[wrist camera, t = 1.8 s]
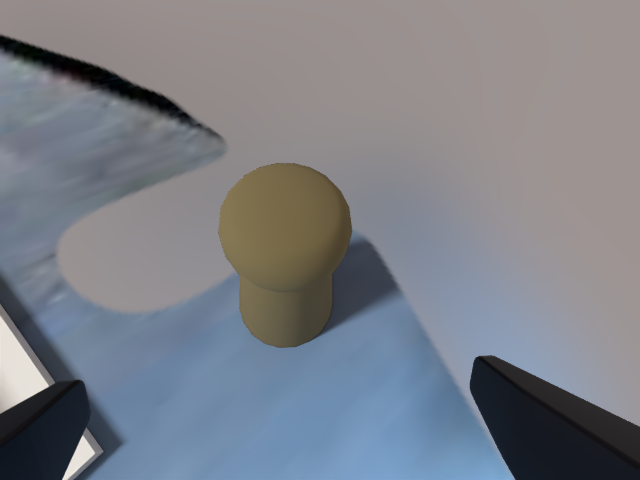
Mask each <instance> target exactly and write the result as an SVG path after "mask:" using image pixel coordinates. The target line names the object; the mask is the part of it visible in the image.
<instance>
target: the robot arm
mask: <svg viewBox="0 0 640 480" xmlns="http://www.w3.org/2000/svg"><path fill="white" fill-rule="evenodd" d="M470 391H471V394H472V396H473V398H474V400H475V402H476V404H477V406H478V409H479V411H480V412H481V415H482V417H483V419H484V421H485V423H486V425H487V427H488V429H489V431H490V433H491V435H492V437H493V439H494V441H495V443H496V446H497V448H498V449H499V451H500V453H501V455H502V457H503V459H504V461H505V463H506V464H507V466H508V468H509V470H510V471H511V473H512V475H513V476H514V478H515V480H640V427H639V426H637V425H635V424H633V423H631V422H629V421H627V420H625V419H623V418H621V417H619V416H616V415H614V414H612V413H610V412H608V411H606V410H604V409H602V408H600V407H598V406H596V405H594V404H592V403H590V402H588V401H586V400H584V399H581V398H579V397H577V396H575V395H573V394H571V393H569V392H567V391H565V390H563V389H561V388H559V387H557V386H555V385H553V384H551V383H549V382H546V381H545V380H543V379H540V378H538V377H536V376H534V375H532V374H530V373H528V372H526V371H524V370H522V369H520V368H518V367H516V366H513V365H512V364H510V363H508V362H506V361H503V360H501V359H499V358H497V357H495V356H491V355H490V356H478V357H476V358H475V360H474V363H473V369H472V374H471V380H470ZM90 413H91V411H90V405H89V401H88V396H87V392H86V388H85V384H84V382H83V381H82V380H62V381H58V382H56V383H54V384H53V385H51V386H49V387H47V388H45V389H44V390H42V391H40V392H38V393H36V394H35V395H33V396H31V397H29V398H27V399H26V400H24V401H22V402H20V403H18V404H17V405H15V406H13V407H11V408H9V409H8V410H6V411H4V412H2V413H0V480H62V479H63V477H64V475H65V473H66V470H67V468H68V466H69V464H70V462H71V459H72V457H73V455H74V453H75V451H76V449H77V446H78V444H79V442H80V440H81V438H82V435H83V433H84V431H85V429H86V427H87V424H88V422H89V419H90Z"/></svg>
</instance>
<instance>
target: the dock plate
mask: <svg viewBox="0 0 640 480" xmlns="http://www.w3.org/2000/svg"><path fill="white" fill-rule="evenodd" d="M54 383H55V381H54V380H53V379H52V377H51V376H50V374H49V373H48V371H47V370H46V369H45V367H44V366H43V364H42V363H41V361H40V360H39V359H38V357H37V356H36V354H35V353H34V351H33V350H32V349H31V347H30V346H29V344H28V343H27V341H26V340H25V339H24V337H23V336H22V334H21V333H20V331H19V330H18V329H17V327H16V326H15V324H14V323H13V321H12V320H11V319H10V317H9V316H8V314H7V313H6V311H5V310H4V309H3V307H2V306H1V304H0V413H2V412H4V411H6V410H8V409H9V408H11V407H13V406H15V405H17V404H18V403H20V402H22V401H24V400H26V399H27V398H29V397H31V396H33V395H35V394H36V393H38V392H40V391H42V390H44V389H45V388H47V387H49V386H51V385H53V384H54ZM103 452H104V451H103V450H102V449H101V447H100V446H99V444H98V443H97V441H96V440H95V439H94V437H93V436H92V434H91V433H90V431H89V430H88V429H87V427H86V429H85V431H84V433H83V435H82V438H81V440H80V442H79V444H78V446H77V449H76V451H75V453H74V455H73V457H72V459H71V462H70V464H69V466H68V468H67V470H66V473H65V475H64V477H63V479H62V480H74V479H75V478H76V477H77V476H78V475H79V474H80V473H81V472H83V471H84V470H85V469H86V468H87V467H88V466H89V465H90V464H91V463H92V462H93V461H94V460H95V459H96V458H97V457H98V456H100V455H101V454H102V453H103Z"/></svg>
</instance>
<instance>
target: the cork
mask: <svg viewBox="0 0 640 480" xmlns="http://www.w3.org/2000/svg"><path fill="white" fill-rule="evenodd" d="M218 234H219V237H220V241H221V244H222V248H223V251H224V253H225V256H226V258H227V259H228V261H229V262H230V263H231V265H232V266H233V267H234V269H235V270H236V271H237V273H238V274H239V275H240V312H241V315H242V319H243V322H244V324H245V325H246V327H247V328H248V330H249V331H250V332H251V334H252V335H253V336H255V337H256V338H258V339H259V340H260V341H262V342H263V343H265V344H268V345H272V346H275V347H279V348H284V347H296V346H299V345H301V344H304V343H307V342H309V341H311V340H312V339H313V338H314V337H315V336H317V335H318V334H319V333H320V332H321V331H322V330H323V328H324V327H325V325H326V323H327V322H328V320H329V318H330V314H331V309H332V305H333V304H332V273H333V272H334V271H335V270H336V269H337V267H338V266H339V264H340V263H341V261H342V260H343V258H344V257H345V255H346V253H347V250H348V247H349V243H350V238H351V234H352V226H351V218H350V211H349V206H348V204H347V202H346V200H345V199H344V196H343V195H342V193H341V191H340V190H339V189H338V188H337V187H336V186H335V185H334V184H333V183H332V182H331V181H330V180H329V179H328V178H327V177H326V176H325V175H323V174H321V173H320V172H318V171H316V170H314V169H312V168H310V167H306V166H302V165H298V164H295V163H292V164H291V163H276V164H271V165H267V166H263V167H259V168H258V169H256V170H254V171H252V172H250V173H249V174H246V175H245V176H244V177H243V178H242V179H241V180H240V181H239V182H238V183H237V184H236V185H235V186H234V187H233V188H232V189H231V190H230V191H229V192H228V195H227V196H226V199H225V200H224V202H223V204H222V206H221V211H220V221H219V231H218Z"/></svg>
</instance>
